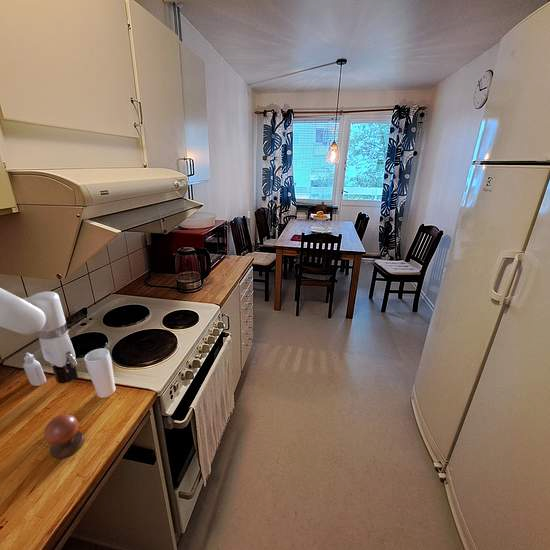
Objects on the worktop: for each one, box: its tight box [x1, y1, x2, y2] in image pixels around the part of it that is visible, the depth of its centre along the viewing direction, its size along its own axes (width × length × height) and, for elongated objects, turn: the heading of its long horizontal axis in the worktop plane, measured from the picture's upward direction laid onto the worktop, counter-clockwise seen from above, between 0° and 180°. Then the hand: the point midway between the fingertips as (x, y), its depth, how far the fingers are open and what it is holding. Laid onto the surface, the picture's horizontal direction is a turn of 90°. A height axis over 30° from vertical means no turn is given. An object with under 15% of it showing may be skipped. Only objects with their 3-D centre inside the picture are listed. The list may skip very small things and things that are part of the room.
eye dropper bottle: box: [22, 352, 47, 387], centre depth 94 cm, size 4×6×12 cm
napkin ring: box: [52, 360, 70, 384], centre depth 95 cm, size 6×6×5 cm
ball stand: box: [43, 413, 85, 460], centre depth 74 cm, size 7×7×10 cm
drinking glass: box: [83, 347, 117, 399], centre depth 90 cm, size 7×7×15 cm
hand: (66, 376), depth 96 cm, fingers closed on napkin ring, 5 cm apart
